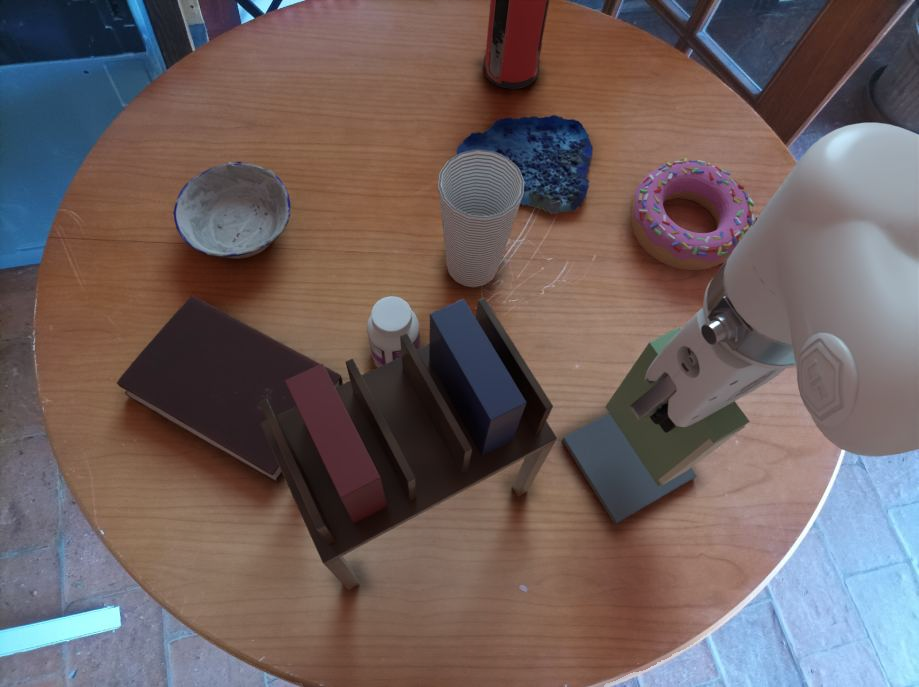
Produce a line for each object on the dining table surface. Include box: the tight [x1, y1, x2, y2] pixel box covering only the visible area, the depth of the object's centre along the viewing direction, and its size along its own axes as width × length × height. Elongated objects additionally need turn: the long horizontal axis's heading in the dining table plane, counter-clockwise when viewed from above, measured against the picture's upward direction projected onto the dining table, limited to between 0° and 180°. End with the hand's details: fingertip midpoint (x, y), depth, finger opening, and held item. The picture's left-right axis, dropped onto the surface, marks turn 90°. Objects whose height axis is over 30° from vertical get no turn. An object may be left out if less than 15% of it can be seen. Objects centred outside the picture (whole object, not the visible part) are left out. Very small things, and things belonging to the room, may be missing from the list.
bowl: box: [172, 161, 291, 260], centre depth 81 cm, size 13×13×5 cm
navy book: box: [428, 298, 526, 456], centre depth 52 cm, size 9×3×8 cm, turn 28°
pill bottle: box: [366, 295, 421, 368], centre depth 73 cm, size 5×5×10 cm
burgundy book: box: [285, 362, 387, 524], centre depth 50 cm, size 9×3×8 cm, turn 29°
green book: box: [605, 326, 750, 487], centre depth 61 cm, size 9×3×15 cm, turn 29°
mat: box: [561, 412, 698, 525], centre depth 73 cm, size 10×10×1 cm
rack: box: [259, 297, 558, 591], centre depth 60 cm, size 12×20×24 cm, turn 119°
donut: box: [630, 157, 755, 271], centre depth 84 cm, size 14×14×5 cm
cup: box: [437, 149, 524, 288], centre depth 75 cm, size 8×8×16 cm
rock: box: [454, 114, 594, 215], centre depth 88 cm, size 15×17×2 cm
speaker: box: [482, 0, 550, 90], centre depth 88 cm, size 8×8×18 cm
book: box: [116, 295, 344, 483], centre depth 73 cm, size 12×19×3 cm, turn 61°
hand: (676, 405), depth 59 cm, fingers closed on green book, 3 cm apart
